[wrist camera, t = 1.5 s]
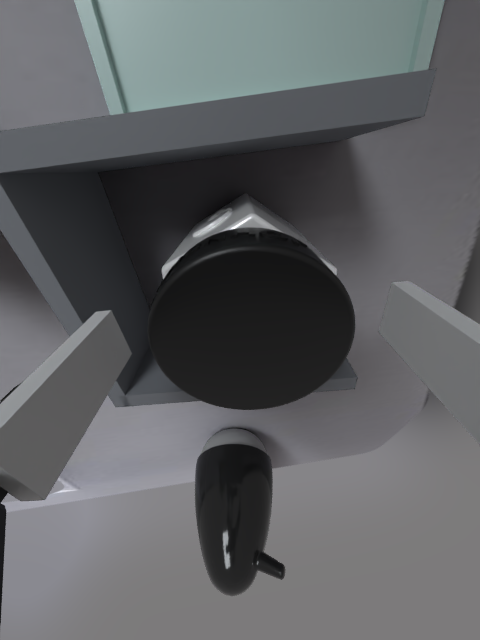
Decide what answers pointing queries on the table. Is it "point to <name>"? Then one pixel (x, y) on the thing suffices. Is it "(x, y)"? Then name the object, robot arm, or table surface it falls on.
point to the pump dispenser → (234, 510)
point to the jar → (249, 311)
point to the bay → (152, 149)
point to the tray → (249, 46)
